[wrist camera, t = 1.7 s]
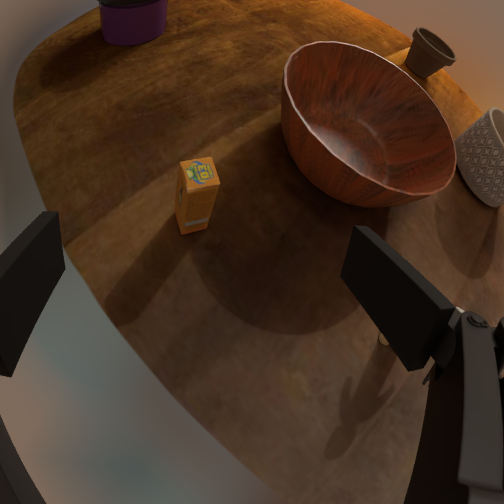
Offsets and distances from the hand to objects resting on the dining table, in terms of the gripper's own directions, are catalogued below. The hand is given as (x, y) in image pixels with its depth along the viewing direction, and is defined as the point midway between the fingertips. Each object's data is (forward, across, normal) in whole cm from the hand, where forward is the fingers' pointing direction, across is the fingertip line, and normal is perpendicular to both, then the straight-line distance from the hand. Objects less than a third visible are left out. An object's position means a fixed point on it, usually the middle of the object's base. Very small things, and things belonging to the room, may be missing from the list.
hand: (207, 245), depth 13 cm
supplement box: (+23, 0, -8) cm, 24 cm away
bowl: (+31, +21, +1) cm, 37 cm away
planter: (+33, +55, +3) cm, 64 cm away
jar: (+49, -14, +20) cm, 55 cm away
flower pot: (+54, +49, +23) cm, 76 cm away
